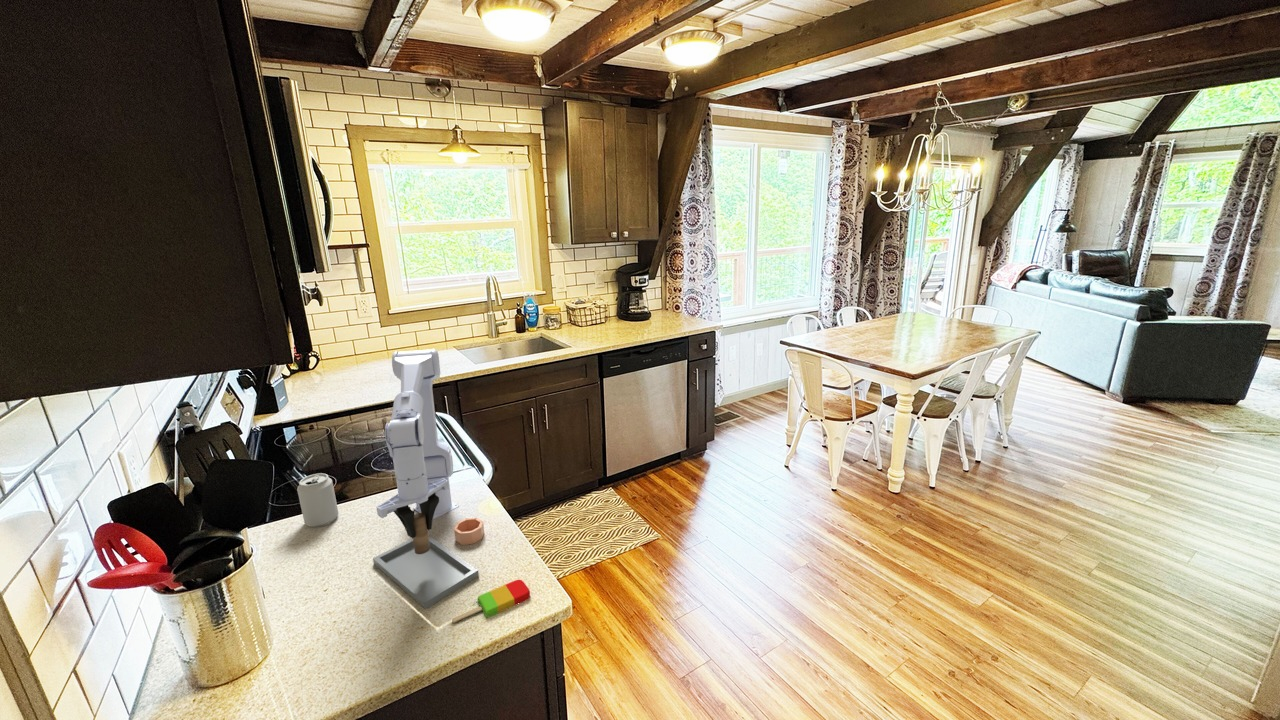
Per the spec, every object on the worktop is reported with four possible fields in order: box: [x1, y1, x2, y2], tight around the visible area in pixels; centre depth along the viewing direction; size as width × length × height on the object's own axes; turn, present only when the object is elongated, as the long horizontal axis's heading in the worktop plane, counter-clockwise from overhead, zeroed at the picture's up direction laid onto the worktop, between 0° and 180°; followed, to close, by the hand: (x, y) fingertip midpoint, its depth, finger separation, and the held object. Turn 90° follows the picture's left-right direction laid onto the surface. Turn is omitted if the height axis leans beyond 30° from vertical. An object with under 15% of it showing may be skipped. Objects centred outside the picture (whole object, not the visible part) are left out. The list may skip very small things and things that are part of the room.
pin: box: [413, 512, 430, 554], centre depth 107 cm, size 3×3×8 cm
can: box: [296, 472, 339, 528], centre depth 128 cm, size 8×8×12 cm
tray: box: [372, 535, 480, 610], centre depth 109 cm, size 22×12×2 cm, turn 51°
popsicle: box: [451, 579, 531, 624], centre depth 99 cm, size 6×15×2 cm, turn 125°
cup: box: [453, 517, 485, 546], centre depth 120 cm, size 6×6×4 cm
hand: (419, 531), depth 107 cm, fingers closed on pin, 3 cm apart
